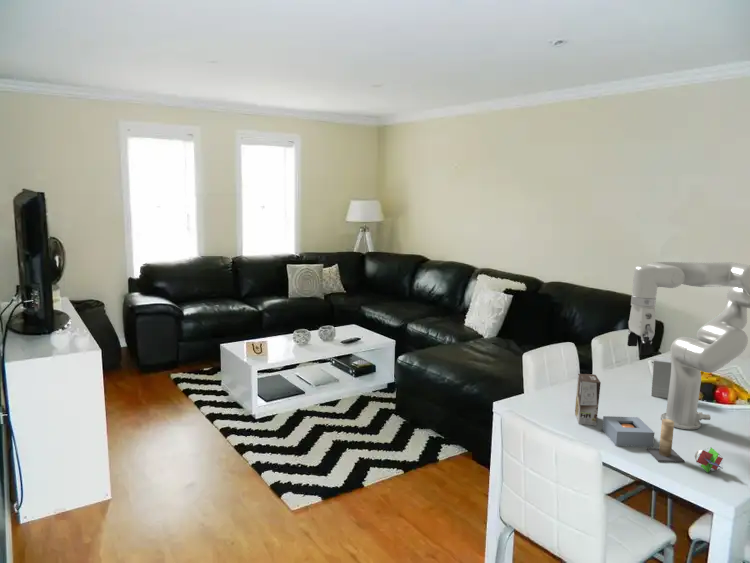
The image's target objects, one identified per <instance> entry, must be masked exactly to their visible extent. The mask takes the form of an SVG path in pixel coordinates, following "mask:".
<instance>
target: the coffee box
mask: <svg viewBox="0 0 750 563" xmlns="http://www.w3.org/2000/svg"><path fill="white" fill-rule="evenodd" d="M600 395H601V381H600V379H599V378H598V376H597V374H592V373H591V374H590V373H577V384H576V396H575V408H574V409H575V410H574V416H575V418H576V421H577V423H578V425H588V426H596V427H597V422H598V413H599V412H598V411H599V403H600Z"/></svg>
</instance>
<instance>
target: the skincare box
mask: <svg viewBox="0 0 750 563" xmlns="http://www.w3.org/2000/svg"><path fill="white" fill-rule="evenodd" d="M670 377H671V357H664V356H658V355H656V356H654V359H653V368H652V382H651V383H652V384H651V395H650V396H651V397H655V398H656V397H657V398H661V399H662V398H663V399H667V400H668V393H669V385H670Z"/></svg>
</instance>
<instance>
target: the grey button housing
mask: <svg viewBox="0 0 750 563" xmlns="http://www.w3.org/2000/svg"><path fill="white" fill-rule="evenodd" d="M622 424H630V425H633V426H634V428H626V427H622ZM601 427H602V429H601V431H602V432H604V434H605V435H606V436H607V437H608V438H609V440H610V441H611V442H612V443H613V444H614V446H616V447H641V448H643V447H645V448H654V442H655V431H654V430H653V429H652V428H650V427H649V426H648V425H647V424H646V423H645V422H644V421H643V420H642V419H641V418H640V417H638V416H609V415H608V416H606V415H603V417H602V426H601Z"/></svg>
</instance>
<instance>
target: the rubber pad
mask: <svg viewBox="0 0 750 563" xmlns="http://www.w3.org/2000/svg"><path fill="white" fill-rule="evenodd" d="M645 450H647V452H648V453H649V454H650V455H651V456H652V457H653V458H654V460H656V461H657V462H658V463H684V464H685V461H686V460H684V458H682V457H681V456H680V455H679V453H677V452H676V451H675V450H674V449H672V450H671V456H669V457H666V456H662V455H660V454H659V447H646V449H645Z"/></svg>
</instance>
